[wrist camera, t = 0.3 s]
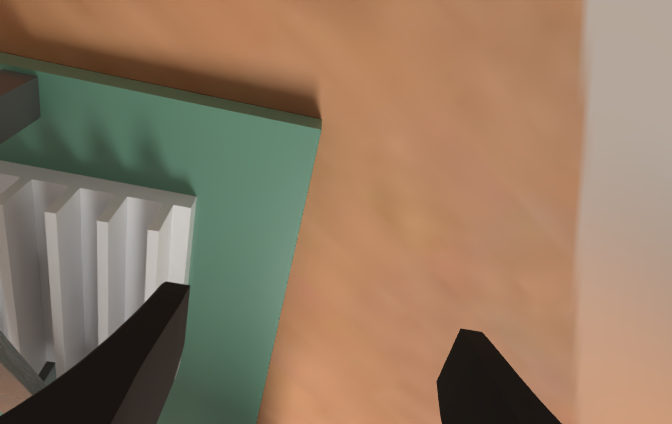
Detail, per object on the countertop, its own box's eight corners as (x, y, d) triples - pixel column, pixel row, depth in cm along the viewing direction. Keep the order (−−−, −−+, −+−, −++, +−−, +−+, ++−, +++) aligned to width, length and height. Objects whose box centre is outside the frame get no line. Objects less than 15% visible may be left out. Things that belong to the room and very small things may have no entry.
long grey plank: (86, 426, 24) (79, 447, 23) (41, 421, 23) (33, 442, 23) (-40, 274, 11) (-60, 310, 11) (-134, 259, 11) (-161, 295, 11)
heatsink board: (253, 428, 30) (238, 533, 25) (-66, 387, 28) (-155, 493, 23) (321, 119, 21) (320, 185, 15) (-158, 19, 18) (-348, 56, 13)
